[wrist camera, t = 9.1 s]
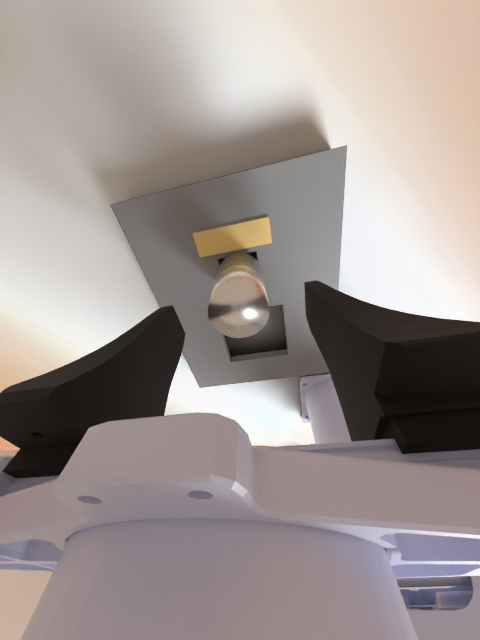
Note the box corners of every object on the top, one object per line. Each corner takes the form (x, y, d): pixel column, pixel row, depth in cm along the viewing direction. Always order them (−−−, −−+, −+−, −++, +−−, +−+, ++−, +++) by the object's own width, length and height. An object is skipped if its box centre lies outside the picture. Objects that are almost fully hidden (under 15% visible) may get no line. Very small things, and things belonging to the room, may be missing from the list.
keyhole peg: (268, 278, 18) (280, 338, 12) (223, 286, 19) (211, 347, 12) (261, 230, 16) (272, 271, 10) (211, 241, 17) (189, 286, 10)
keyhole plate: (325, 354, 23) (333, 373, 21) (203, 370, 25) (199, 389, 23) (331, 148, 13) (348, 144, 11) (128, 200, 15) (108, 205, 13)
